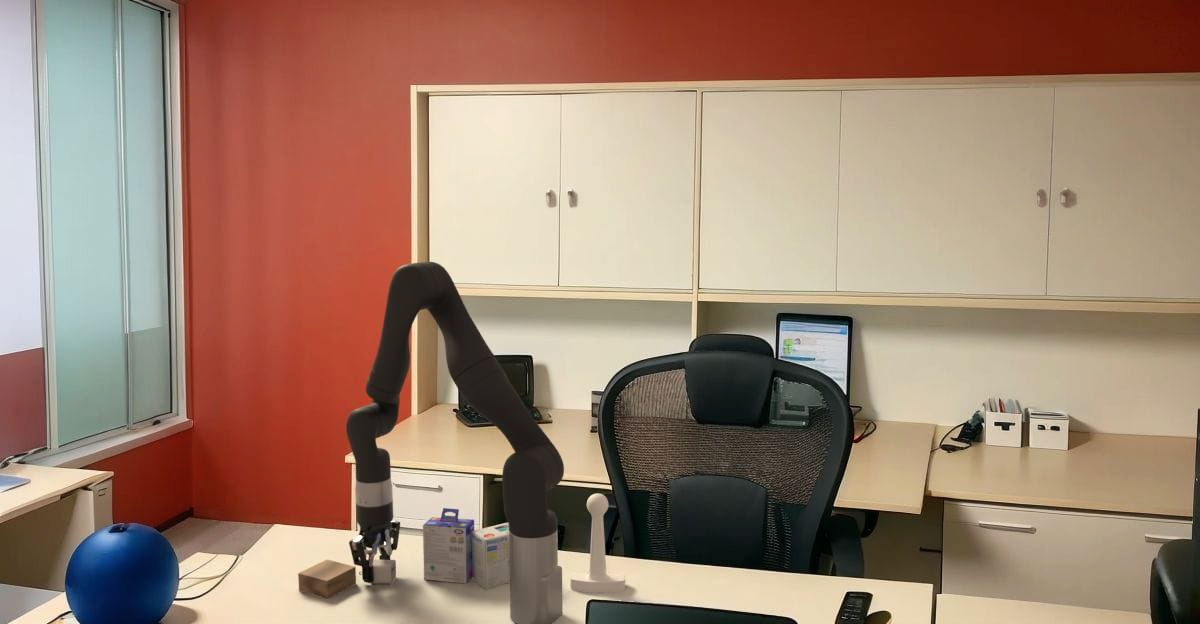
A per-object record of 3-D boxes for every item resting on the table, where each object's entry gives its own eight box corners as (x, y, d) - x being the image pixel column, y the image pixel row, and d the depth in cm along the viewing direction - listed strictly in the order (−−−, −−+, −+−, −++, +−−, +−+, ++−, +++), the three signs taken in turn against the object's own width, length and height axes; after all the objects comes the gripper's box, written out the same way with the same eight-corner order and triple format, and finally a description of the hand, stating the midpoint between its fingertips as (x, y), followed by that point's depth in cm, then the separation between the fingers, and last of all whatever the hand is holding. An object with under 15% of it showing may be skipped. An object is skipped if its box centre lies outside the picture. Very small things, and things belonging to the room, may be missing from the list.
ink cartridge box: (476, 573, 196) (475, 508, 194) (467, 584, 190) (466, 517, 189) (433, 569, 198) (431, 505, 196) (423, 580, 192) (421, 514, 191)
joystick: (569, 591, 187) (569, 497, 184) (573, 576, 194) (573, 485, 192) (624, 593, 186) (624, 498, 183) (626, 577, 193) (626, 486, 191)
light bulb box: (514, 567, 199) (514, 519, 198) (530, 577, 194) (530, 528, 192) (470, 579, 193) (469, 529, 192) (485, 590, 188) (484, 539, 186)
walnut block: (356, 585, 191) (355, 566, 190) (327, 600, 184) (327, 581, 183) (327, 577, 195) (327, 559, 194) (299, 591, 188) (298, 573, 187)
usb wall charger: (391, 584, 190) (390, 566, 190) (358, 584, 191) (357, 565, 190) (396, 576, 194) (395, 558, 194) (363, 576, 195) (363, 558, 194)
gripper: (365, 512, 182) (368, 594, 185) (410, 491, 195) (412, 567, 197) (336, 507, 186) (339, 587, 188) (382, 486, 198) (384, 561, 201)
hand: (377, 576), depth 193 cm, fingers closed on usb wall charger, 4 cm apart
